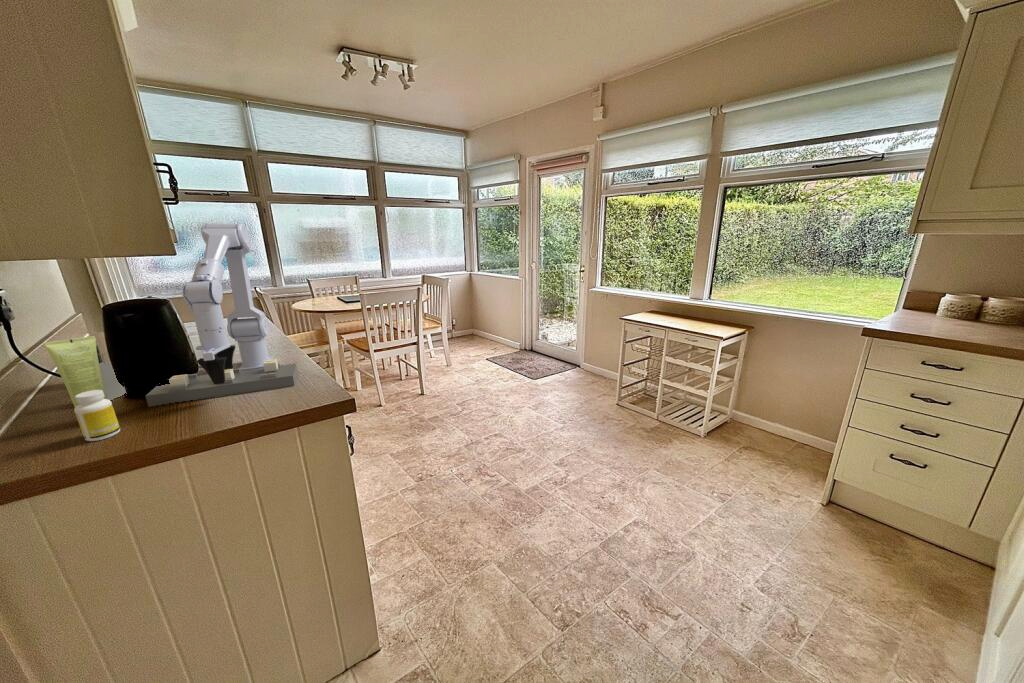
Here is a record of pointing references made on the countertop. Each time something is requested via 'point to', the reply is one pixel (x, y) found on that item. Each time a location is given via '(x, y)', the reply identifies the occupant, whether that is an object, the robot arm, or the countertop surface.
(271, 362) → the switch
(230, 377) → the switch mid
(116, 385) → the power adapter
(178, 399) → the power strip
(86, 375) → the tube
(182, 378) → the switch
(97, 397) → the supplement bottle
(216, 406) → the countertop surface
